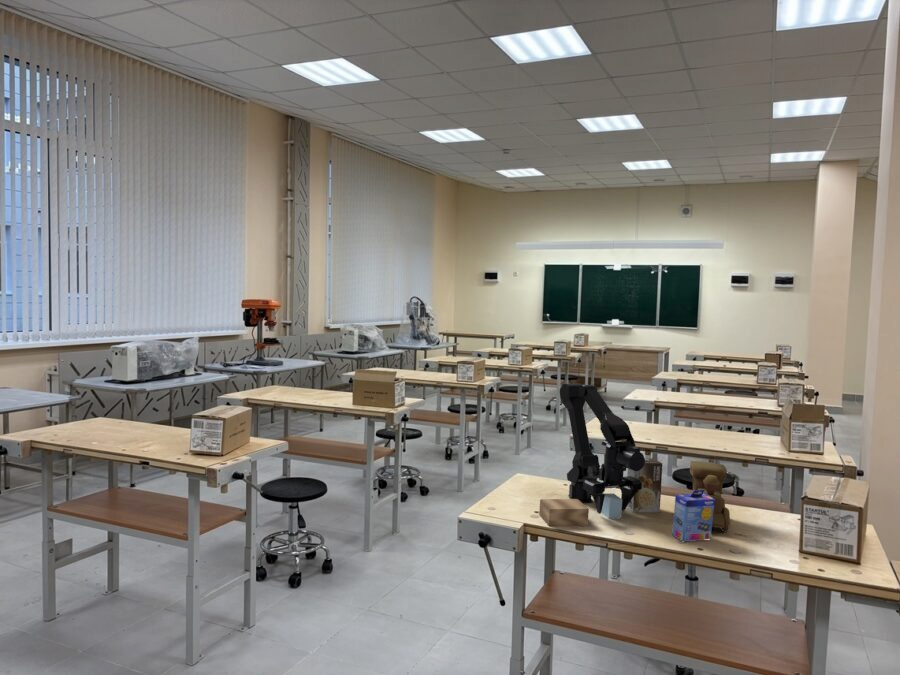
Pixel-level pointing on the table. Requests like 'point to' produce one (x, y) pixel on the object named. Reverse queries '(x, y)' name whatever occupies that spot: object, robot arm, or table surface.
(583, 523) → the brown wooden block
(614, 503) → the block
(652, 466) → the coffee box
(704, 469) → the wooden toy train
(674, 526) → the ink cartridge box
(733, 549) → the table surface
